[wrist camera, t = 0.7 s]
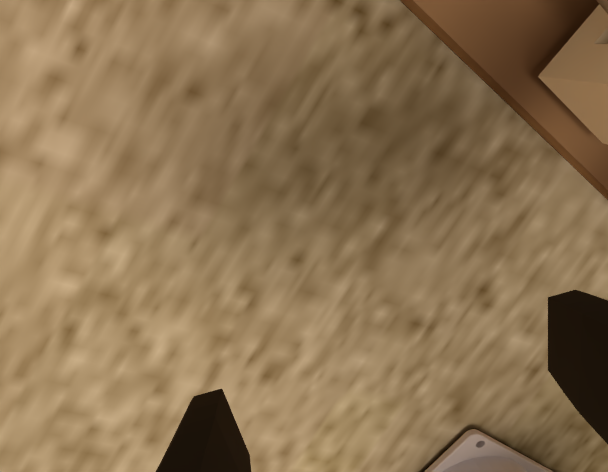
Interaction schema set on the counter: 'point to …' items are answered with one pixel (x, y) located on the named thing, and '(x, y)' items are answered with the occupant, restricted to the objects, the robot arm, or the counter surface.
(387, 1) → the counter surface
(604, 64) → the tan wooden block
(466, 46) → the rod base
